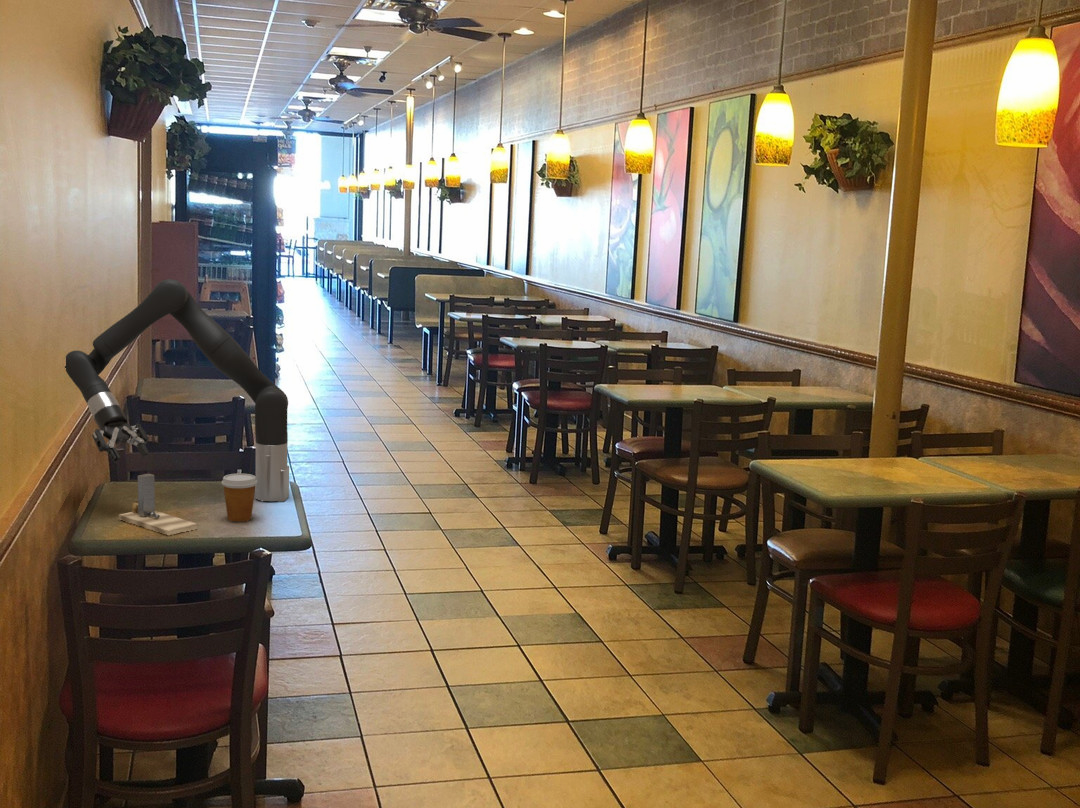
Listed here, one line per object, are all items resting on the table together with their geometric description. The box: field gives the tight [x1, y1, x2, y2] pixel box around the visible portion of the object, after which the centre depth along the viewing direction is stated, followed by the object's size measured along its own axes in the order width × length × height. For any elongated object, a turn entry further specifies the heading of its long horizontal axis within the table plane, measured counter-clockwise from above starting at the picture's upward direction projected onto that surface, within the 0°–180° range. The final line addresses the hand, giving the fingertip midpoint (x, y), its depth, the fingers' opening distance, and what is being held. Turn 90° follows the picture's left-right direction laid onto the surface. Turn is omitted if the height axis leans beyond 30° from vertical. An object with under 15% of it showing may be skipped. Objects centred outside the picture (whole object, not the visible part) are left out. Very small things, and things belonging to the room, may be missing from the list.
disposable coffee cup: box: [221, 473, 257, 523], centre depth 295 cm, size 10×10×12 cm
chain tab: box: [137, 473, 160, 518], centre depth 288 cm, size 9×4×11 cm, turn 55°
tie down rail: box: [118, 502, 199, 535], centre depth 287 cm, size 22×9×4 cm, turn 55°
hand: (132, 458), depth 291 cm, fingers open, 8 cm apart
